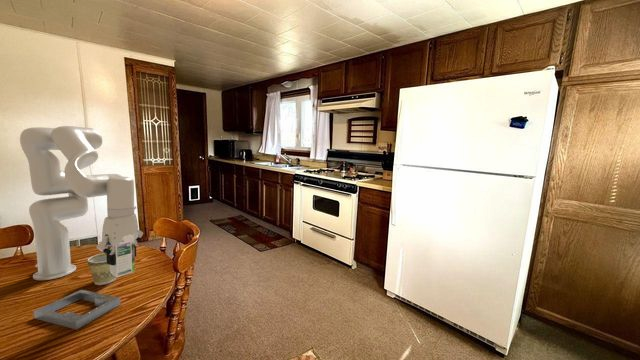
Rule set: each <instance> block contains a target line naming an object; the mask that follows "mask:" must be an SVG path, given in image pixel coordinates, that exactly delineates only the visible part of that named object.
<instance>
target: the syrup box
mask: <svg viewBox="0 0 640 360" xmlns="http://www.w3.org/2000/svg"><path fill="white" fill-rule="evenodd" d="M111 248H112V247H111ZM110 250H111V249H110ZM114 254H116V265H114V266H113V265H110V273H111V274H112V275H114V276H115V277H116V279H118V278H119V277H122V276H126V275H128V274H133V273H135V272H136V257H135V251H134V234H133V233H132V234H129V235H127V236H124V237H123V238H122V240H121V242H120V244H119V245H118V246H116V247H115V252H114Z"/></svg>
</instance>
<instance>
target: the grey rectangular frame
mask: <svg viewBox="0 0 640 360" xmlns="http://www.w3.org/2000/svg"><path fill="white" fill-rule="evenodd" d="M79 300H83V301H87V302H91V303H94V306H95V307H96V308H93V309H91V310H90V311H87V312H86V313H84V314H80V313H76V312H71V311H67V312H65V313H60V312H57V311H58V310H61V309H63V308H65V307H67V306H69V305H71V304H73V303H75V302H77V301H79ZM119 306H121V297H119V296H113V295H109V294H105V293H100V292H96V291H91V290H85V289H79V290H78V291H75V292H73V293H71V294H69V295H66V296H64V297H62V298H60V299H57V300H55V301H53V302H51V303H48V304H46V305H43V306H42V307H40V308H38V309H35V310H33V316H34V319H36V320H39V321H42V322H46V323H48V324H49V323H50V324H54V325H58V326H62V327H64V328H69V329H71V330H72V329H73V330H79V329H80V328H82V327H84V326H85V325H88V324H90V323H91V322H93V321H94V320H96V319H98V318H100V317H101V316H103V315H105V314H107V313H108V312H110V311H112V310H114V309H115V308H117V307H119Z"/></svg>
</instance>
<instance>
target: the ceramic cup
mask: <svg viewBox="0 0 640 360" xmlns="http://www.w3.org/2000/svg"><path fill="white" fill-rule="evenodd" d="M87 265H88V267H89V271H90V273H91V276H92V277H91V278H92V279H93V283H94V285H97V286H102V285H108V284H111V283H113V282H114V281H116V279H117V277H115V276H114V275H112V274H111V273H110V265H108V264H107V257H106V254H105V253H103V252H101V253H98V254H95V255H93V256H90V257H88V258H87Z"/></svg>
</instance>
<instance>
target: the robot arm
mask: <svg viewBox="0 0 640 360" xmlns="http://www.w3.org/2000/svg"><path fill="white" fill-rule="evenodd" d="M19 142H20V146H21V149H22V151H23V154H24V155H25V157H26V158H27V162H28V165H29V166H28V167H29V176H30V183H31V184H30V185H31V189H32V191H33V193H34V194H36V195H37V196H54V195H65V194H67V195H68V196H61V197H59V196H58V197H52V198H50V197H49V198H44V199H39V200H37V201H34V202H33V203H32V204H31V205H30V206H29V207H28V213H29V217H30V219H31V222H32V225H33V230H34V238H35V249H36V260H37V263H36V264H35V268H37V272H35V273H34V274H33V275H32V279H33V280H36V281H49V280H54V279H55V280H56V279H58V278H62V277H66V276H68V275H70V274H72V273H74V272H75V271H76V270H77V266H76V265H75V264H72V262H71V261H72V260H71V259H72V258H71V247H70V236H69V235H70V233H69V229H68V228H67V226H65V225H64V224H63V223H61V221H64V220H70V219H75V218H79V217H80V218H81V217H83V216H86V214H87V212H88V210H89V202H88V201H89V199H88V198H95V197H102V196H103V197H104V196H106V207H107V208H106V212H107V215H106V216H107V217H104V220H103V224H102V231H101V241H100V242H99V243H98V244H97V245H96V249H97V250H99V251H100V252H101V253H105V254H106V257H107V264H108V265H113V266H114V265H116V254H114V252H115V247H116V246H118V245H119V244H120V242H121V240H122V238H123V237H124V236H127V235H129V234H132V233H133V234H134V251H135V258H136V257H137V247H138V245H139V242H140V241H141V238H142V237H143V235H144V232H143V231H142V230H140V229H139V224H138V217H137V214H136V213H135V211H136V210H137V206H136V205H135V181H134V179H133V178H132V177H129V176H123V175H120V174H118V173H105V174H88V175H87V174H86V175H85V174H84V173H83V172H82V171H81V170H83V169H86V168H88V167H90V166H91V165H93V164H94V163H96V161H98V159H99V153H98V152H97V150H96V149H100V148H101V146H102V145H103V137H102V135H101V133H100V132H99V131H98V130H96V129H95V128H92V127H83V126H70V125H63V126H57V127H42V126H41V127H40V126H39V127H29V128H28V127H27V128H26V129H23V130H22V131H21V132H20V137H19ZM51 150H52V151H60V152H61V154H62V155H63V156H64V157H65V159H67V160H68V162H66V164H65V167H64V170H62V169H61V164H60V163H61V162H60V159H59V157H58V156H57V155H56V154H54V153H53V152H52V151H51ZM105 246H106V247H105ZM111 247H112V248H111ZM110 249H111V250H110Z"/></svg>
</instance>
